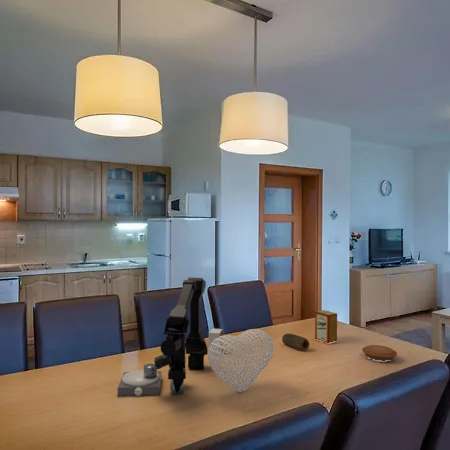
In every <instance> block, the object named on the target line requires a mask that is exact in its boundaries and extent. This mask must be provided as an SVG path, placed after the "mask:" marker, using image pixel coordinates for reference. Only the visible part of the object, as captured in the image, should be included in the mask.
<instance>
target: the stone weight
mask: <svg viewBox="0 0 450 450" xmlns="http://www.w3.org/2000/svg"><path fill="white" fill-rule="evenodd" d="M281 337H282V338H281V340H282V343H283V344H284V345H286V346H288V347H291V348H293V349H295V348H296V349H295V350H298V349H299V351H305V350H306V351H307V350H308V349H309V348H310V342H309V339H307V338H306V337H304V336H301V335H296V334H293V333H284V334H283V335H282V336H281Z"/></svg>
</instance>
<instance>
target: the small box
mask: <svg viewBox="0 0 450 450" xmlns="http://www.w3.org/2000/svg"><path fill="white" fill-rule="evenodd" d="M223 333H224V329H221V328H211V330H210V331H209V332H208V347H209V346H210V344H211V343H212V341H213V340H214V339H216V338H218V337H219V336H224V334H223ZM215 342H216V341H215ZM215 342H214V343H215ZM218 342H219V341H217V343H218ZM220 343H221V341H220ZM219 345H220V344H219ZM221 345H222V344H221ZM221 345H220V346H221ZM223 345H224V344H223ZM223 345H222V346H223ZM214 347H215V346H214ZM217 347H218V346H217ZM223 347H224V346H223ZM214 349H215V348H213V350H214ZM220 349H221V348H219V349H218V352H220ZM223 350H224V349H223V348H222V350H221V352H223ZM215 351H217V348H216V350H215ZM209 352H211V351H210V350H209ZM210 354H211V353H210ZM215 354H216V352H215ZM218 355H219V353H218ZM216 356H217V354H216ZM219 356H220V355H219Z"/></svg>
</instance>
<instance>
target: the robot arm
mask: <svg viewBox="0 0 450 450" xmlns="http://www.w3.org/2000/svg"><path fill="white" fill-rule="evenodd" d="M206 286H207V281H206V280H205V279H204V278H203V277H188V278H187V279H183V282H182V289H181V292H180V295H179V298H178V300H177V303H176V306H175V307H174V308H172V310H171V311H170V313H169V314H168V316H167V317H166V320H165V326H164V331H163V335H167V336H166V337H165V339H164V341H162V342H161V345H160V352H161V355H159V356H158V355H157V356H156V357H154V360H153V362H154V363H153V364H155V367H156V368H157V370H159V369H161V368H164V367H167V366H168V367H169V369H168V371H167V380H169V381H172V380H173V383H174V388H175V392H179V390H180V387H181V385H182V383H183V381H185V380H186V377H187V372H186V371H187V370H186V364H187V368H188V370H189V371H192V370H194V371H195V370H199V371H202V370H205V356H207V355H208V349H209V346H208V345H207V342H206V340H205V337H206V336H205V335H204V333H203V332H202V327H201V326H202V324H201V323H202V316H201V315H202V310H201V309H202V306H201V305H202V299H201V298H202V296H203V294H204V293H205V289H206ZM188 313H189V315H188ZM188 330H189V333H188ZM186 333H188V335H187V337H186ZM186 355H188V356H187V357H186ZM186 359H187V360H186ZM186 361H187V363H186Z"/></svg>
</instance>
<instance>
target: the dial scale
mask: <svg viewBox="0 0 450 450" xmlns="http://www.w3.org/2000/svg"><path fill="white" fill-rule="evenodd" d="M162 377H163V375H162V371H161V370H160V371H158V370H157V377H155V378H152V379H146V378H144V369H136V370H132V371H124V372H123V373H122V376H121V378H120V381H119V384H118V386H117V397H124V396H125V397H127V396H128V397H129V396H136V397H139V396H158V395H159V396H160V392H161V385H162Z"/></svg>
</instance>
